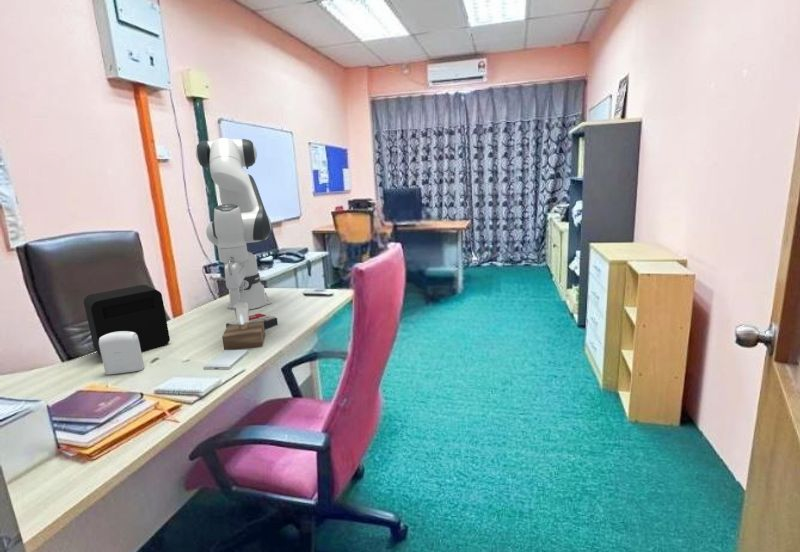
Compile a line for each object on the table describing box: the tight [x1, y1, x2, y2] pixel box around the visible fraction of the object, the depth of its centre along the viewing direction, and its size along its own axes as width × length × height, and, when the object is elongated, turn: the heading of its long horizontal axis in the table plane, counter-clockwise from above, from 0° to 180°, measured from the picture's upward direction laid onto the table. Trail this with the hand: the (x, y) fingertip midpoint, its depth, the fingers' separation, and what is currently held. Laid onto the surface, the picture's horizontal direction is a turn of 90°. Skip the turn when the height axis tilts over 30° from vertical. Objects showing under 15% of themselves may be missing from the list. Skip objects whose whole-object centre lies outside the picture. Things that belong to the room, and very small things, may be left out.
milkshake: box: [233, 299, 249, 330], centre depth 145 cm, size 5×5×10 cm
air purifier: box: [83, 284, 171, 358], centre depth 146 cm, size 20×15×20 cm
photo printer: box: [99, 331, 145, 376], centre depth 128 cm, size 10×4×12 cm, turn 100°
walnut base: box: [221, 321, 266, 351], centre depth 147 cm, size 12×12×5 cm
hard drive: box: [202, 349, 250, 371], centre depth 133 cm, size 2×8×12 cm
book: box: [225, 313, 279, 330], centre depth 161 cm, size 11×4×15 cm
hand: (239, 295), depth 144 cm, fingers open, 8 cm apart
